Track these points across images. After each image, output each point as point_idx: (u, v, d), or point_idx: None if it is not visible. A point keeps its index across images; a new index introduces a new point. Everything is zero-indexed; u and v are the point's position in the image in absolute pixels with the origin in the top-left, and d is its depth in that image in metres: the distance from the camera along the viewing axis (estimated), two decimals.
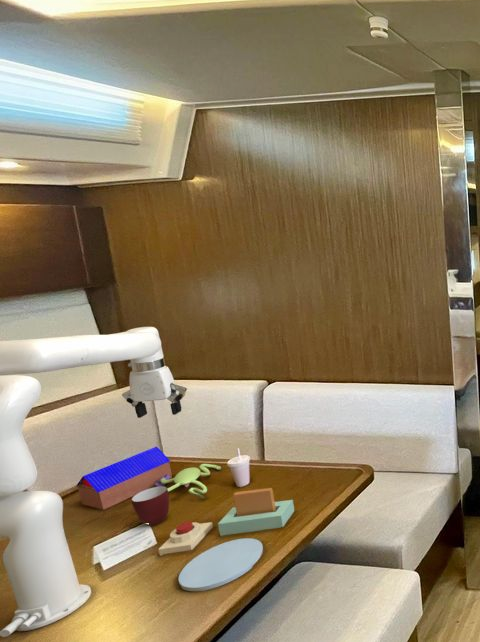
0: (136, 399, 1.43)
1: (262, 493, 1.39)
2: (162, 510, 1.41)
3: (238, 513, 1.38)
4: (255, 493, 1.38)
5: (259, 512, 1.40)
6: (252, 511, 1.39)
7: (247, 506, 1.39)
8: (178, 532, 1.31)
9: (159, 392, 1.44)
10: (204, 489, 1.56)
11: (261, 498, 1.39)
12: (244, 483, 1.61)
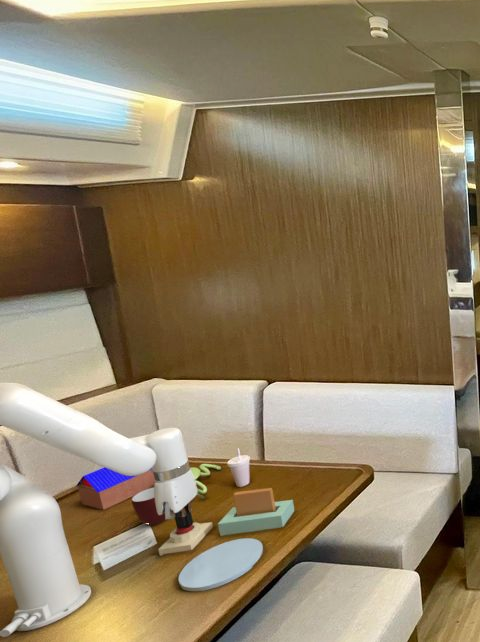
0: None
1: (262, 493, 1.39)
2: None
3: (238, 513, 1.38)
4: (255, 493, 1.38)
5: (259, 512, 1.40)
6: (252, 511, 1.39)
7: (247, 506, 1.39)
8: (178, 533, 1.31)
9: None
10: (204, 489, 1.56)
11: (261, 498, 1.39)
12: (244, 483, 1.61)
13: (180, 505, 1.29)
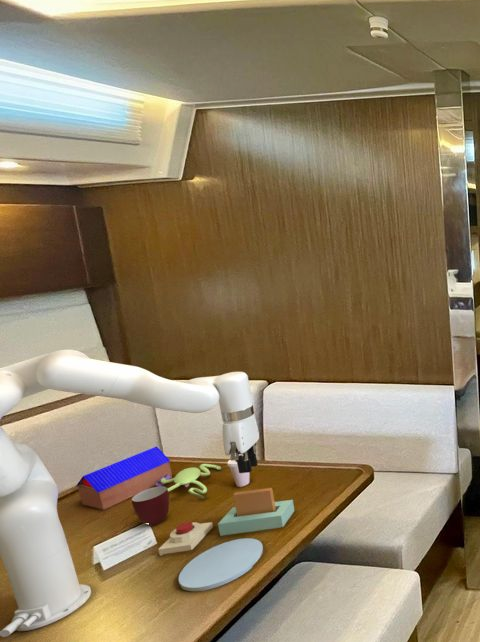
0: None
1: (262, 493, 1.39)
2: (162, 510, 1.41)
3: (238, 513, 1.38)
4: (255, 493, 1.38)
5: (259, 512, 1.40)
6: (252, 511, 1.39)
7: (247, 506, 1.39)
8: (178, 532, 1.31)
9: None
10: (204, 489, 1.56)
11: (261, 498, 1.39)
12: (244, 483, 1.61)
13: (246, 446, 1.33)
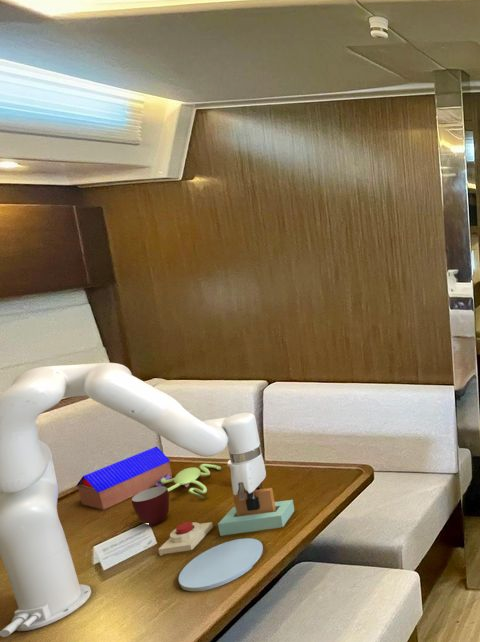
0: None
1: (262, 493, 1.39)
2: (162, 510, 1.41)
3: (238, 513, 1.38)
4: None
5: (259, 512, 1.40)
6: (252, 511, 1.39)
7: None
8: (178, 532, 1.31)
9: None
10: (204, 489, 1.56)
11: (261, 498, 1.39)
12: None
13: (253, 486, 1.36)
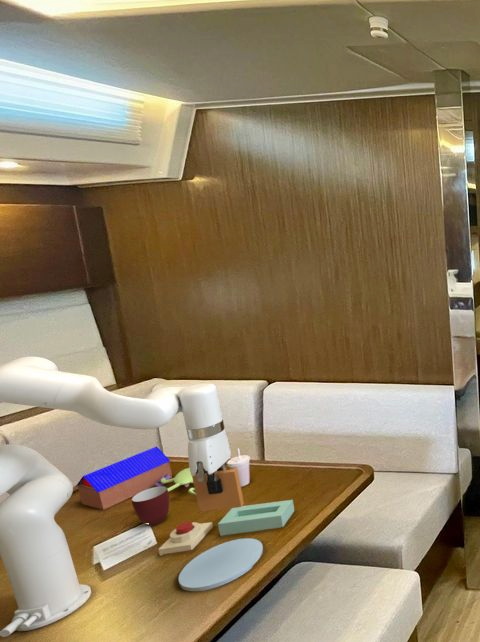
0: None
1: (225, 474, 1.23)
2: (162, 510, 1.41)
3: (198, 497, 1.23)
4: (218, 475, 1.23)
5: (222, 496, 1.24)
6: (214, 495, 1.23)
7: None
8: (178, 532, 1.31)
9: None
10: None
11: (224, 480, 1.23)
12: (244, 483, 1.61)
13: (214, 466, 1.20)
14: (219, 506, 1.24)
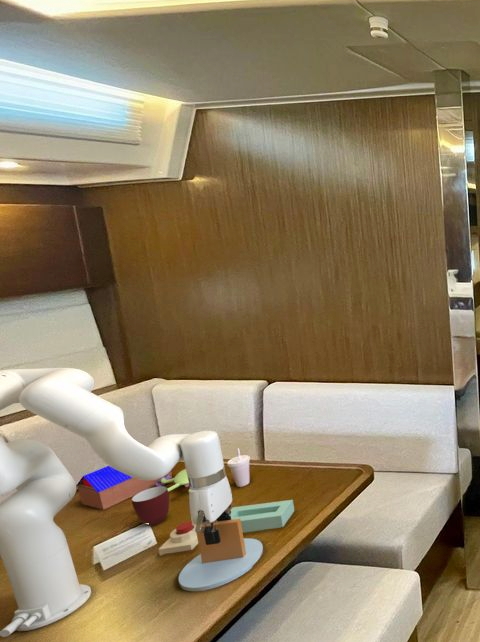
0: None
1: (228, 525, 1.23)
2: (162, 510, 1.41)
3: (201, 548, 1.23)
4: (221, 525, 1.23)
5: (225, 547, 1.24)
6: (216, 546, 1.24)
7: None
8: (178, 532, 1.31)
9: None
10: None
11: (227, 531, 1.24)
12: (244, 483, 1.61)
13: (216, 514, 1.20)
14: (221, 557, 1.24)
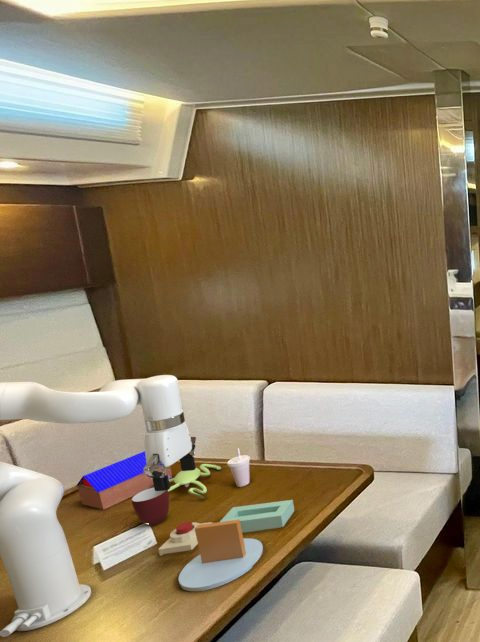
0: None
1: (228, 526, 1.23)
2: (162, 510, 1.41)
3: (201, 549, 1.23)
4: (220, 526, 1.23)
5: (225, 547, 1.24)
6: (216, 546, 1.24)
7: (211, 541, 1.23)
8: (178, 532, 1.31)
9: None
10: (204, 489, 1.56)
11: (227, 532, 1.23)
12: (244, 483, 1.61)
13: (172, 459, 1.19)
14: (221, 557, 1.24)
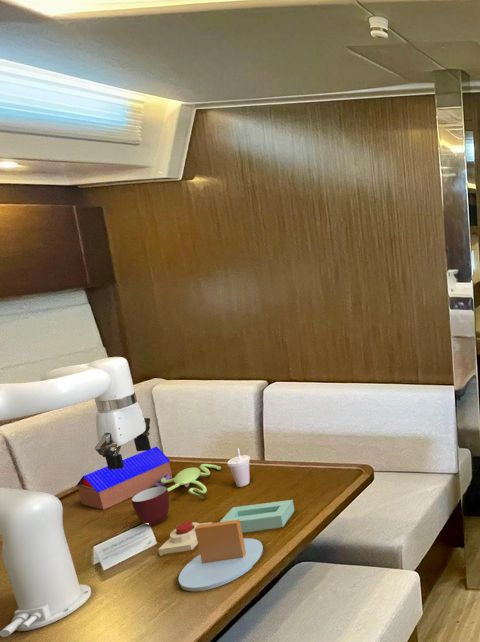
0: None
1: (228, 526, 1.23)
2: (162, 510, 1.41)
3: (201, 549, 1.23)
4: (220, 526, 1.23)
5: (225, 547, 1.24)
6: (216, 546, 1.24)
7: (211, 541, 1.23)
8: (178, 532, 1.31)
9: None
10: (204, 489, 1.56)
11: (227, 532, 1.23)
12: (244, 483, 1.61)
13: (124, 438, 1.22)
14: (221, 557, 1.24)
